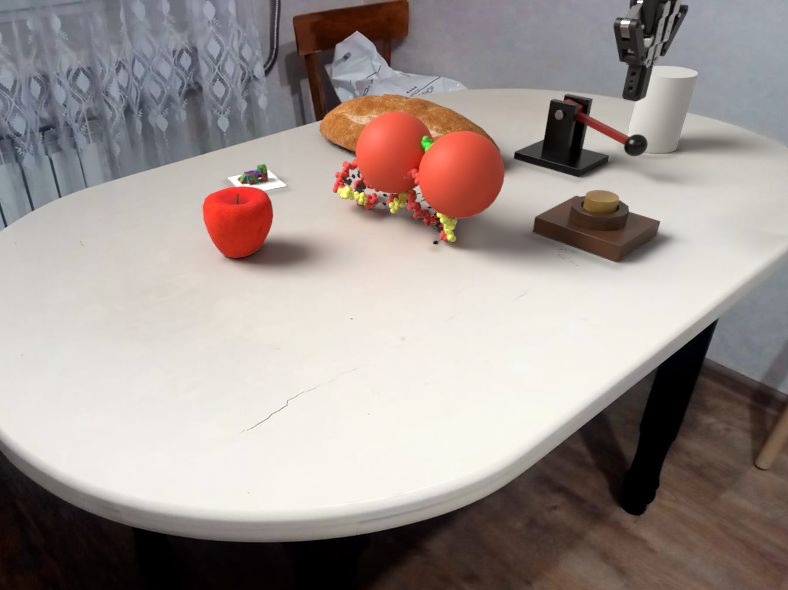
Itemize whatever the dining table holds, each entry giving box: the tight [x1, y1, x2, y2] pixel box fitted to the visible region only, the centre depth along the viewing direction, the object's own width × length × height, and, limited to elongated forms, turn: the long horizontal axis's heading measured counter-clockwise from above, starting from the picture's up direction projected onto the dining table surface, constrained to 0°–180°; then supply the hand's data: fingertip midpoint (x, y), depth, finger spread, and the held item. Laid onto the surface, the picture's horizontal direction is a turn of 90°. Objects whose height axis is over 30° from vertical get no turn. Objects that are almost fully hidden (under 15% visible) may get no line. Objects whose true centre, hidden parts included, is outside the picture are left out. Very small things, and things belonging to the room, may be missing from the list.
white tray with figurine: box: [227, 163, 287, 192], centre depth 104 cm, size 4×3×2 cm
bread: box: [318, 93, 501, 154], centre depth 112 cm, size 18×35×9 cm, turn 51°
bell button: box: [583, 189, 620, 214], centre depth 84 cm, size 4×4×2 cm
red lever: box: [565, 99, 648, 158], centre depth 101 cm, size 15×3×3 cm, turn 42°
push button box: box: [532, 195, 661, 263], centre depth 85 cm, size 12×10×4 cm
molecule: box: [332, 112, 506, 246], centre depth 86 cm, size 25×11×15 cm, turn 48°
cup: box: [626, 65, 699, 154], centre depth 110 cm, size 8×8×12 cm
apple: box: [202, 186, 274, 259], centre depth 83 cm, size 9×9×8 cm
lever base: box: [513, 93, 610, 178], centre depth 106 cm, size 12×9×10 cm
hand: (633, 98), depth 78 cm, fingers closed
